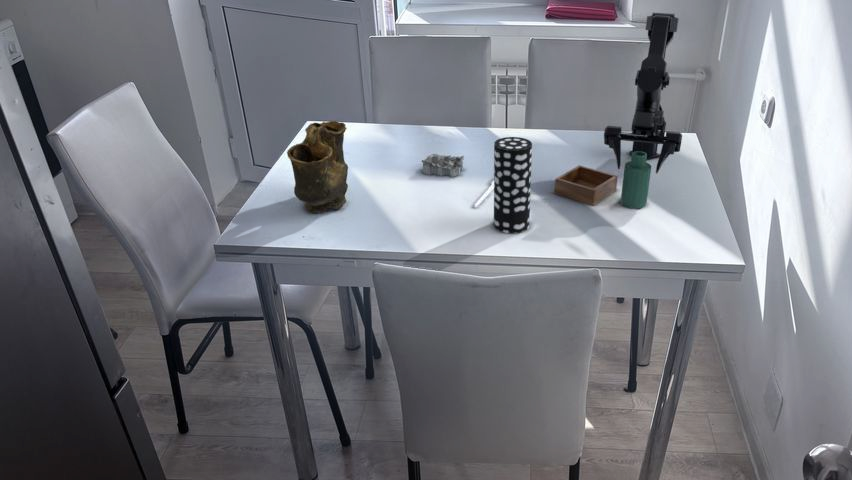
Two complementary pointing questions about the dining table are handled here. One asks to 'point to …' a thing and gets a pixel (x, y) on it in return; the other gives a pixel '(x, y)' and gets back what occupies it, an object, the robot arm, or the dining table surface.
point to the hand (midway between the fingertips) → (637, 170)
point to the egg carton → (443, 165)
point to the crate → (586, 185)
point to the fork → (485, 194)
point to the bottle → (636, 181)
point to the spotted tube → (512, 184)
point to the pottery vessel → (320, 167)
